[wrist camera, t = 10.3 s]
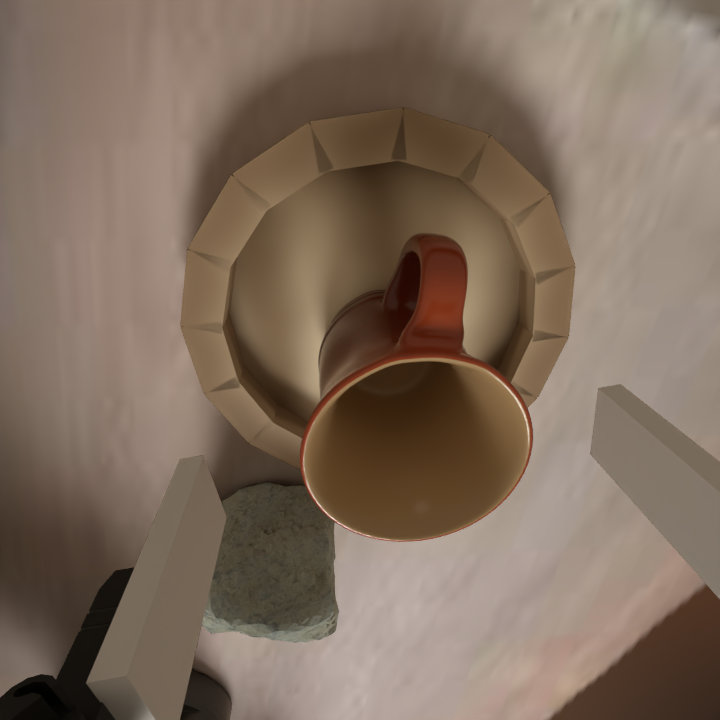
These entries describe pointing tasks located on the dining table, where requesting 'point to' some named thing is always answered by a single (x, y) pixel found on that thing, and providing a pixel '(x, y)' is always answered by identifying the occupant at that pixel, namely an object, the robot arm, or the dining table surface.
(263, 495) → the decorative stone
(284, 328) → the round tray
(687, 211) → the dining table surface
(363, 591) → the dining table surface
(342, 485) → the mug
